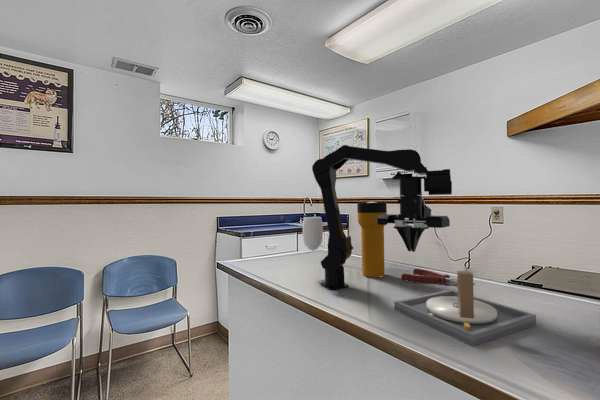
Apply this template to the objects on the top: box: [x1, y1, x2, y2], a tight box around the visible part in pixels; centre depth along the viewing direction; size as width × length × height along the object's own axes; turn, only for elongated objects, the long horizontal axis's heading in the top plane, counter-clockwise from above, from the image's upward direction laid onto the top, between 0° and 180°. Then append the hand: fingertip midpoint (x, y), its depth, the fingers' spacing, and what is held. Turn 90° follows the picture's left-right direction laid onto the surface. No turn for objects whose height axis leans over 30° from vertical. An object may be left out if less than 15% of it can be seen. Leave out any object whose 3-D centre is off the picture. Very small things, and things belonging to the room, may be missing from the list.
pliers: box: [401, 268, 476, 287], centre depth 94 cm, size 12×20×3 cm, turn 45°
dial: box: [426, 270, 497, 324], centre depth 67 cm, size 14×14×10 cm
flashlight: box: [356, 201, 388, 278], centre depth 104 cm, size 10×26×10 cm
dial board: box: [393, 289, 537, 347], centre depth 67 cm, size 20×20×2 cm
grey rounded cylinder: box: [302, 216, 324, 251], centre depth 105 cm, size 7×7×21 cm
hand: (411, 251), depth 83 cm, fingers closed
